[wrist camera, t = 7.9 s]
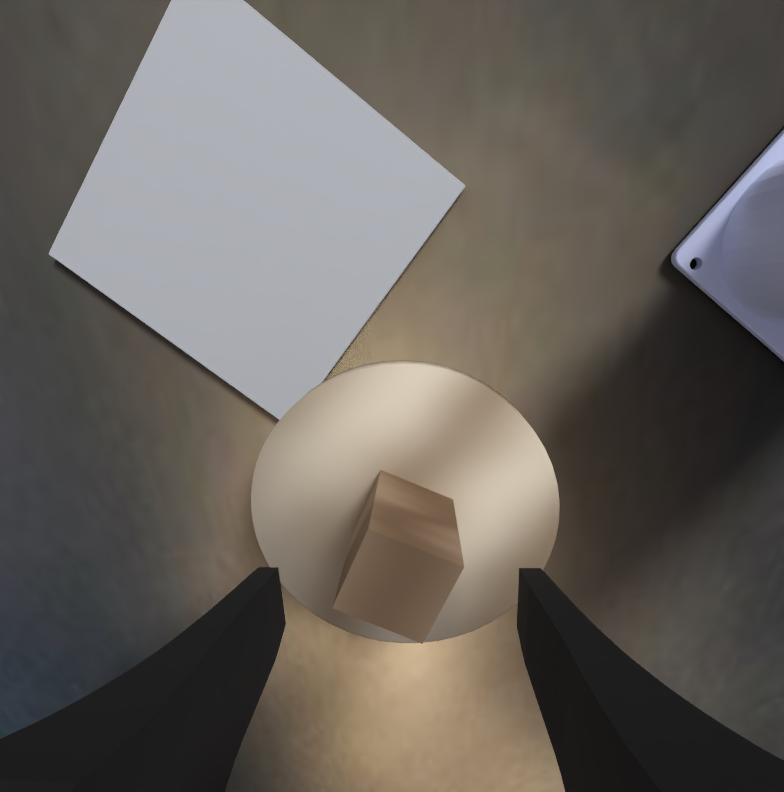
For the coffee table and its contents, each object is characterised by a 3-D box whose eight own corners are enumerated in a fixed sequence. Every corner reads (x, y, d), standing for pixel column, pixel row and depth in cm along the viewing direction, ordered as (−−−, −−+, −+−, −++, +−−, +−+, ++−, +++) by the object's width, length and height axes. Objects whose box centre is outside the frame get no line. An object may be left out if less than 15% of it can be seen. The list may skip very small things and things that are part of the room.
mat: (464, 188, 18) (465, 185, 18) (292, 423, 22) (289, 426, 21) (198, -34, 17) (192, -43, 16) (57, 254, 20) (48, 253, 20)
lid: (608, 433, 16) (691, 496, 11) (472, 661, 19) (491, 789, 14) (316, 310, 15) (270, 319, 11) (225, 564, 18) (157, 662, 14)
